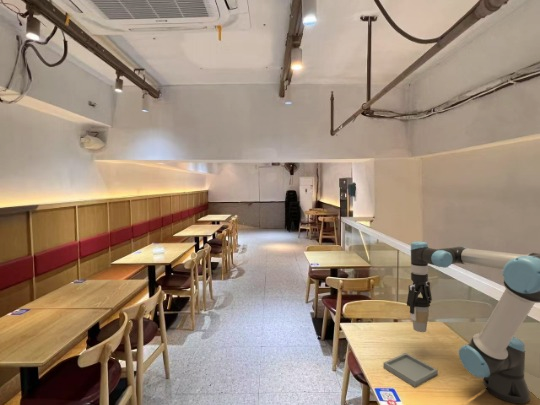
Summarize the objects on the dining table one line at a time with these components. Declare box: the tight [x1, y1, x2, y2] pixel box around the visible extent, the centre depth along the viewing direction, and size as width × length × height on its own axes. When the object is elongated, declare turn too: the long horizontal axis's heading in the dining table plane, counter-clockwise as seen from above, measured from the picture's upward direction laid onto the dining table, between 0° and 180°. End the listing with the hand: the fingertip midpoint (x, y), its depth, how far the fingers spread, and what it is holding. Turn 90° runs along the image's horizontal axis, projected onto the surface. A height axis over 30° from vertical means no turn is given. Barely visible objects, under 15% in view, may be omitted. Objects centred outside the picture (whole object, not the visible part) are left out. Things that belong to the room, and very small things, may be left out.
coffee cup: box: [411, 296, 431, 333], centre depth 148 cm, size 9×9×15 cm
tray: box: [382, 352, 439, 388], centre depth 135 cm, size 16×16×2 cm
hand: (419, 317), depth 148 cm, fingers closed on coffee cup, 9 cm apart
